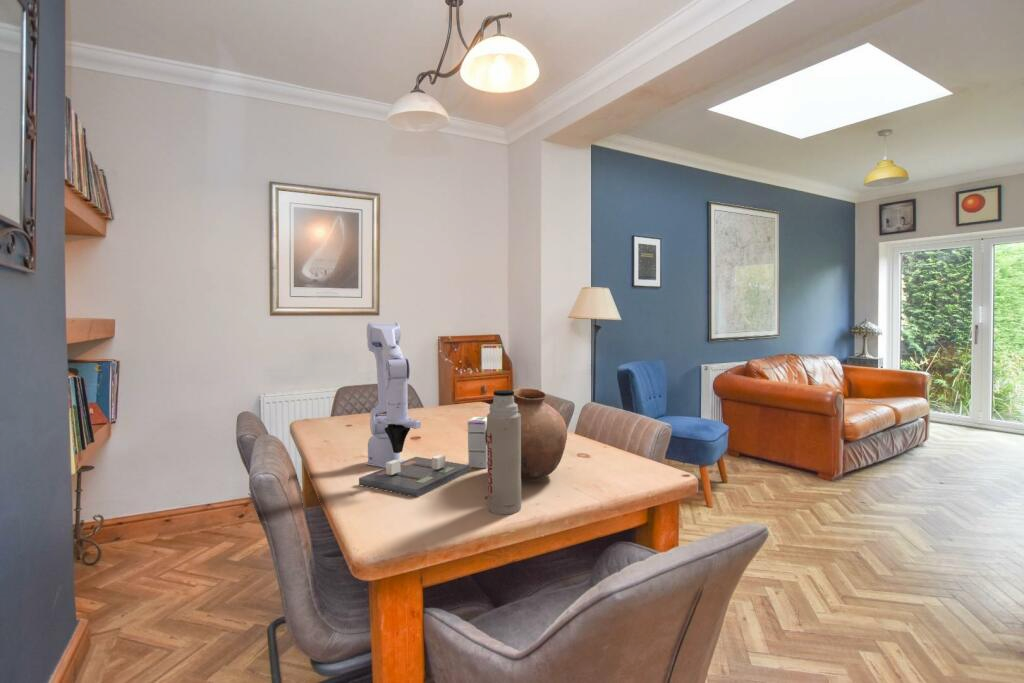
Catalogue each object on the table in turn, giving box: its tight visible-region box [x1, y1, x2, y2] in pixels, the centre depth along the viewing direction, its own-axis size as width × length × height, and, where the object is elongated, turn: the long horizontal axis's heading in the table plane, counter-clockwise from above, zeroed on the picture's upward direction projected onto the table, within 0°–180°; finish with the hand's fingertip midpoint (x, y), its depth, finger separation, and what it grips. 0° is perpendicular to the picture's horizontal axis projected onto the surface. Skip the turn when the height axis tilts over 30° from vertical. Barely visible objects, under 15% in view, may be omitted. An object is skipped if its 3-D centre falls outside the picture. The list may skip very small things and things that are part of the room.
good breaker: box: [431, 454, 446, 469], centre depth 146 cm, size 2×4×3 cm, turn 151°
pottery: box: [485, 387, 568, 481], centre depth 143 cm, size 23×23×25 cm
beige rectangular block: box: [386, 459, 401, 475], centre depth 141 cm, size 2×4×3 cm, turn 151°
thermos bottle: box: [486, 389, 522, 515], centre depth 120 cm, size 8×8×28 cm
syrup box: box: [467, 416, 487, 469], centre depth 156 cm, size 6×6×14 cm
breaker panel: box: [358, 456, 471, 498], centre depth 144 cm, size 20×24×2 cm
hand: (397, 452), depth 140 cm, fingers closed
